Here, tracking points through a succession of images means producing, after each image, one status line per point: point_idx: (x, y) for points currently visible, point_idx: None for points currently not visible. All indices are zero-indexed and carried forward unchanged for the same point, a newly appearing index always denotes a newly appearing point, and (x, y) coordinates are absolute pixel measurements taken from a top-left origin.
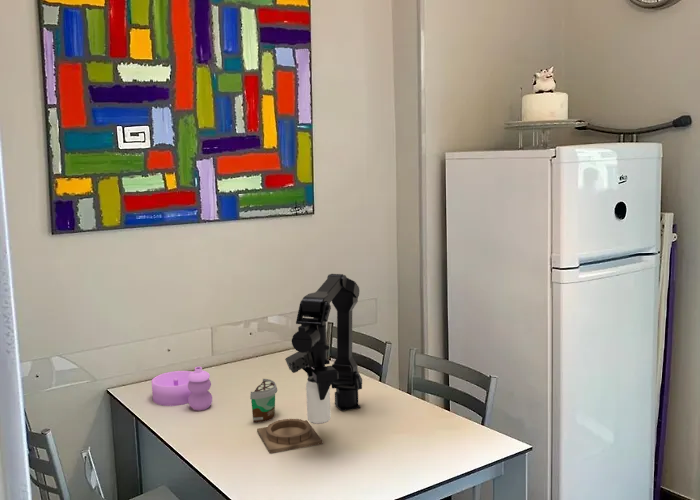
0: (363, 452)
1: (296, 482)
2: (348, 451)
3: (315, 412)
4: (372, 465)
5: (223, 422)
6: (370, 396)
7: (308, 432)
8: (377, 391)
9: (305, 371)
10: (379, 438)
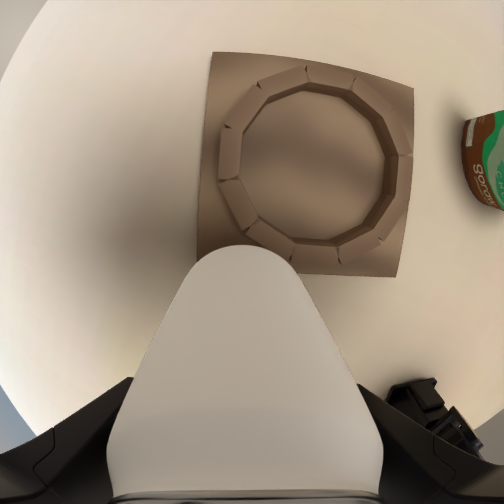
0: (100, 344)
1: (19, 111)
2: (115, 314)
3: (176, 294)
4: (37, 325)
5: (481, 60)
6: None
7: (241, 229)
8: None
9: (489, 499)
10: None
